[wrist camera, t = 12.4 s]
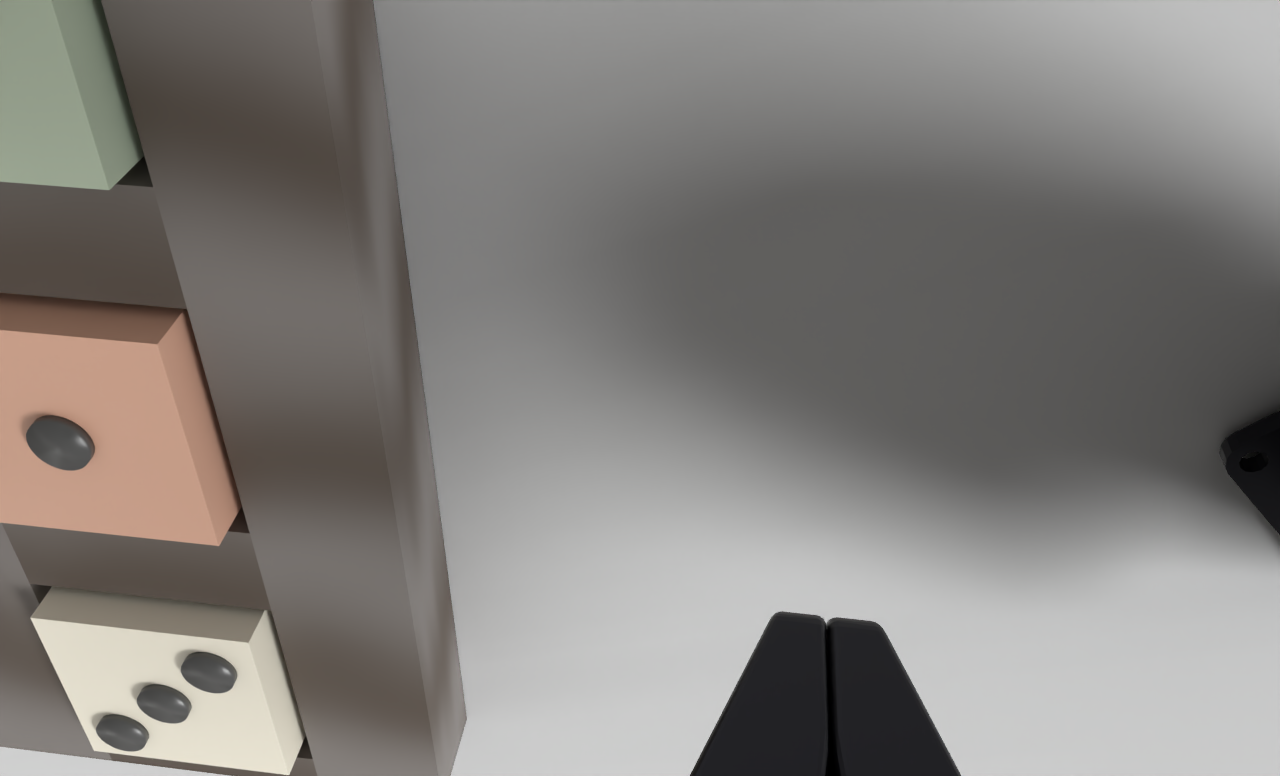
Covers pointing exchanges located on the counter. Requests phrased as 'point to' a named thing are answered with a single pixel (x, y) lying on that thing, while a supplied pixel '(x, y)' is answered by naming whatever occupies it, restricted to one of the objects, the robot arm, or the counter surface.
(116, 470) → the tile one
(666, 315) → the counter surface
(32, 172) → the tile two
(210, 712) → the tile three
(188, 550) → the tile board
